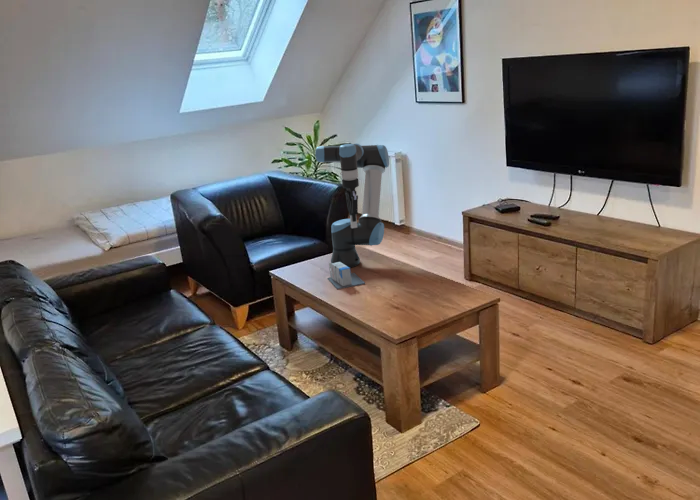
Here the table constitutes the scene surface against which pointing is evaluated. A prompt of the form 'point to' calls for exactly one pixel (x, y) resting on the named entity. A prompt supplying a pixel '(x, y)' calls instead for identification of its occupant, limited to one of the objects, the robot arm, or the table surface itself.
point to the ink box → (340, 273)
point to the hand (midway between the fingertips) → (354, 227)
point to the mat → (355, 282)
